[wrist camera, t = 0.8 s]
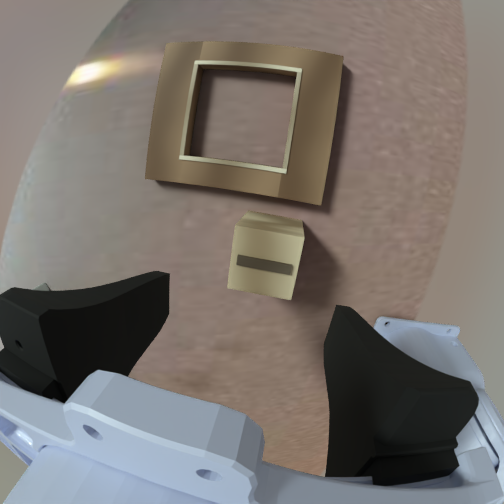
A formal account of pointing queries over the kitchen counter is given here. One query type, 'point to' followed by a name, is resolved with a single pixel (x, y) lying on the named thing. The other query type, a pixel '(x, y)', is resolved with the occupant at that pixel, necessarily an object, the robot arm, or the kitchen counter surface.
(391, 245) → the kitchen counter surface
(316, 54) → the plate
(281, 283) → the beige block with stripe
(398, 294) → the kitchen counter surface
